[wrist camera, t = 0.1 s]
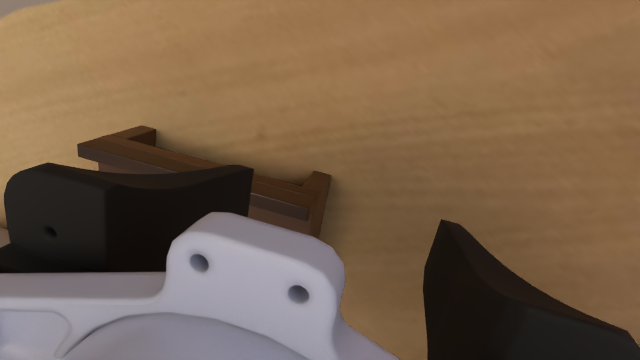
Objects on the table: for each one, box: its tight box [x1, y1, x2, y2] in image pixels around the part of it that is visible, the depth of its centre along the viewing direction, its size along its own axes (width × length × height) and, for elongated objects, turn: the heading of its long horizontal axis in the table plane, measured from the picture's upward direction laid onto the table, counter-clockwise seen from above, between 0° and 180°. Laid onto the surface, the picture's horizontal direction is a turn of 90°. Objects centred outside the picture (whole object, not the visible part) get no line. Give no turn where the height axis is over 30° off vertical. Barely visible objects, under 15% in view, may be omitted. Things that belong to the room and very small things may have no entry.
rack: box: [77, 126, 331, 239], centre depth 26 cm, size 18×14×6 cm
